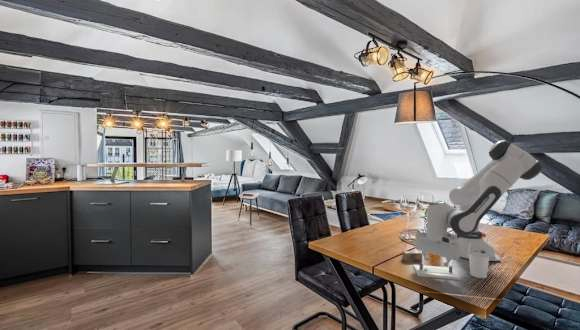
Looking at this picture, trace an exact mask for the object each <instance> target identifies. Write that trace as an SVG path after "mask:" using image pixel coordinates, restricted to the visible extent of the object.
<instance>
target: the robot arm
mask: <svg viewBox="0 0 580 330" xmlns="http://www.w3.org/2000/svg"><path fill="white" fill-rule="evenodd" d="M488 156H489V157H490V158H491V159H492V160H491V161H489V162H488V163H487V164H485V166H484V167H482V168H481V169H480V170H479V171H478V172H476V173H475V174H474V175H473V176H472V177H470V178H468V179H466V180H465V181H464V182H462V183H461V184H459V185H458V186H456V187H454V188H453V189H451V190H450V192H449V194H448V198H449V201H450V203H452V204H453V205H455V206H459V208H458V207H454V206H452V205H450V204H448V203H447V202H446V201H444V200H438V201H431V202H430V203H428V205H427V209H426V210H427V212H426V221H427V224H426V232H424V231H421V230H420V231H417V232H416V233H415V245H414V247H415V249H416V251H419V252H421V253H422V257H423V259H424V261H425V262H429V261H430V257H429V256H428V255H427V254H430V255H434V256H439V257H442V258H445V260H446V261H445V262H443V267H448V268H449V266H450V265H449V264H450V262H451V261H452V260H454V261H456V260H459V259H460V258H463V259H467V260H469V253H470V252H479V253H484V254H487V255H488V256H489V262H492V261H493V262H500V261H501V257H500V256H499V255H498V254H496V251H495V248H494V246H493V244H491V243H489V242H488V241H487V240H486V239H484V238H486V236H487V234H486V233H484V232H482V231H480V222H481V221H482V219H483V217H485V215H486V214H487V213H488V212H489V211H491V209H492V208H493V206H495V204H496V203H497V202H498V201H499V200H500V198H501V197H502V196H503V195H504V194H505V193H506V192H507V191H508V190H510V188H511V187H513V186H514V184H515V183H517V182H518V180H519V179H521V180H526V181H529V180H532V179H534V178H536V177H538V176H539V175H540V174H541V172H542V171H543V169H544V168H543V166H544V165H543V164H542V163H541V162H540V161H539V159H536V158H535V157H534V156H533V155H532V154H530V153H529V152H527V151H526V150H523V149H522V148H520V147H518V146H517V145H516V144H513V143H512V142H510V141H508V140H506V139H503V140H502V139H501V140H500V141H497V142H495V143H494V144H493V145H492V146H491V147H490V148H489V151H488ZM448 229H451V230H452V231H453V233H454V234H452V233H450V232H448Z"/></svg>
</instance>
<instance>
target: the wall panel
mask: <svg viewBox="0 0 580 330" xmlns="http://www.w3.org/2000/svg"><path fill="white" fill-rule="evenodd" d="M413 268H414V271H415V272H416V275H417V277H424V278H425V277H426V278H435V279H445V280H454V281H455V280H456V281H461V280H462V277H461V276H460V275H459V274H458V273H457V271H456V270H455V268H453V266H452V265H449V266H448V267H444V266H436V265H435V266H434V265H425V264H423V263H422V262H419V264H413Z"/></svg>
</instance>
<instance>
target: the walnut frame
mask: <svg viewBox="0 0 580 330" xmlns="http://www.w3.org/2000/svg"><path fill="white" fill-rule="evenodd" d="M401 254H402V255H401V256H402V257H401V259H402V261H404V263H423V254H422V251H420V250H415V251H413V250H410V251H409V250H404V251H403V250H402V253H401Z"/></svg>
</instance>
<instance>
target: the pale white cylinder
mask: <svg viewBox="0 0 580 330" xmlns="http://www.w3.org/2000/svg"><path fill="white" fill-rule="evenodd" d="M468 261H469V262H468V263H469V275H470V276H471V277H474V278H477V279H487V277H488V273H489V272H488V271H489V262H490V261H489V256H488V255H487V254H484V253H479V252H470V253H469V259H468Z"/></svg>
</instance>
